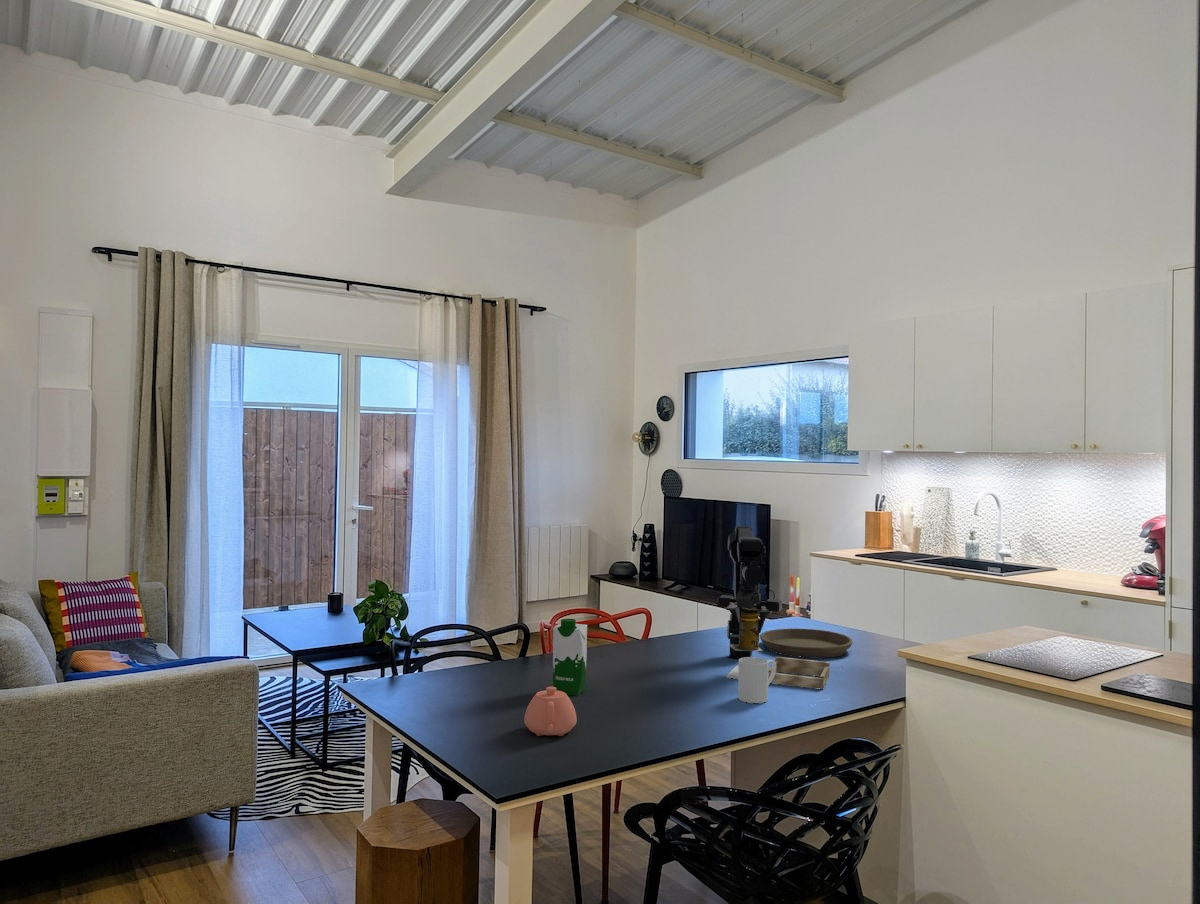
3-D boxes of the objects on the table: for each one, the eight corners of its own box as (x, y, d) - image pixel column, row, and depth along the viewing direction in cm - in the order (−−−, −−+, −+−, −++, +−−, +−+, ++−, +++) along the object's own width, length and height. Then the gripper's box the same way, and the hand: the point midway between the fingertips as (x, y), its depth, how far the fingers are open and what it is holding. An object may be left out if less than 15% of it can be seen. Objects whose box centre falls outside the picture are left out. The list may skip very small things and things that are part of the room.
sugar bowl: (576, 723, 197) (577, 680, 197) (576, 743, 183) (577, 697, 183) (525, 722, 196) (526, 680, 197) (522, 742, 182) (522, 696, 183)
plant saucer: (755, 655, 271) (755, 642, 271) (764, 637, 301) (764, 624, 301) (852, 664, 262) (852, 649, 262) (852, 644, 291) (852, 631, 292)
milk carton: (549, 694, 221) (550, 620, 221) (559, 685, 230) (560, 614, 230) (579, 697, 218) (581, 622, 219) (589, 688, 227) (590, 616, 227)
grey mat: (726, 677, 241) (726, 675, 241) (736, 667, 254) (736, 665, 254) (759, 681, 237) (759, 679, 237) (768, 670, 250) (768, 668, 250)
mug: (753, 705, 214) (753, 665, 214) (732, 698, 220) (732, 659, 220) (785, 698, 221) (785, 659, 221) (763, 691, 227) (764, 654, 227)
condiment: (763, 651, 243) (764, 610, 243) (735, 651, 242) (736, 611, 242) (755, 645, 250) (756, 606, 250) (728, 645, 249) (729, 606, 249)
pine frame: (766, 683, 236) (766, 667, 236) (775, 671, 250) (775, 656, 250) (823, 689, 230) (823, 673, 230) (829, 677, 244) (829, 662, 244)
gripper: (713, 581, 242) (712, 634, 242) (776, 586, 235) (775, 640, 235) (721, 576, 252) (721, 627, 252) (782, 581, 245) (781, 632, 245)
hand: (748, 631), depth 246 cm, fingers closed on condiment, 6 cm apart
